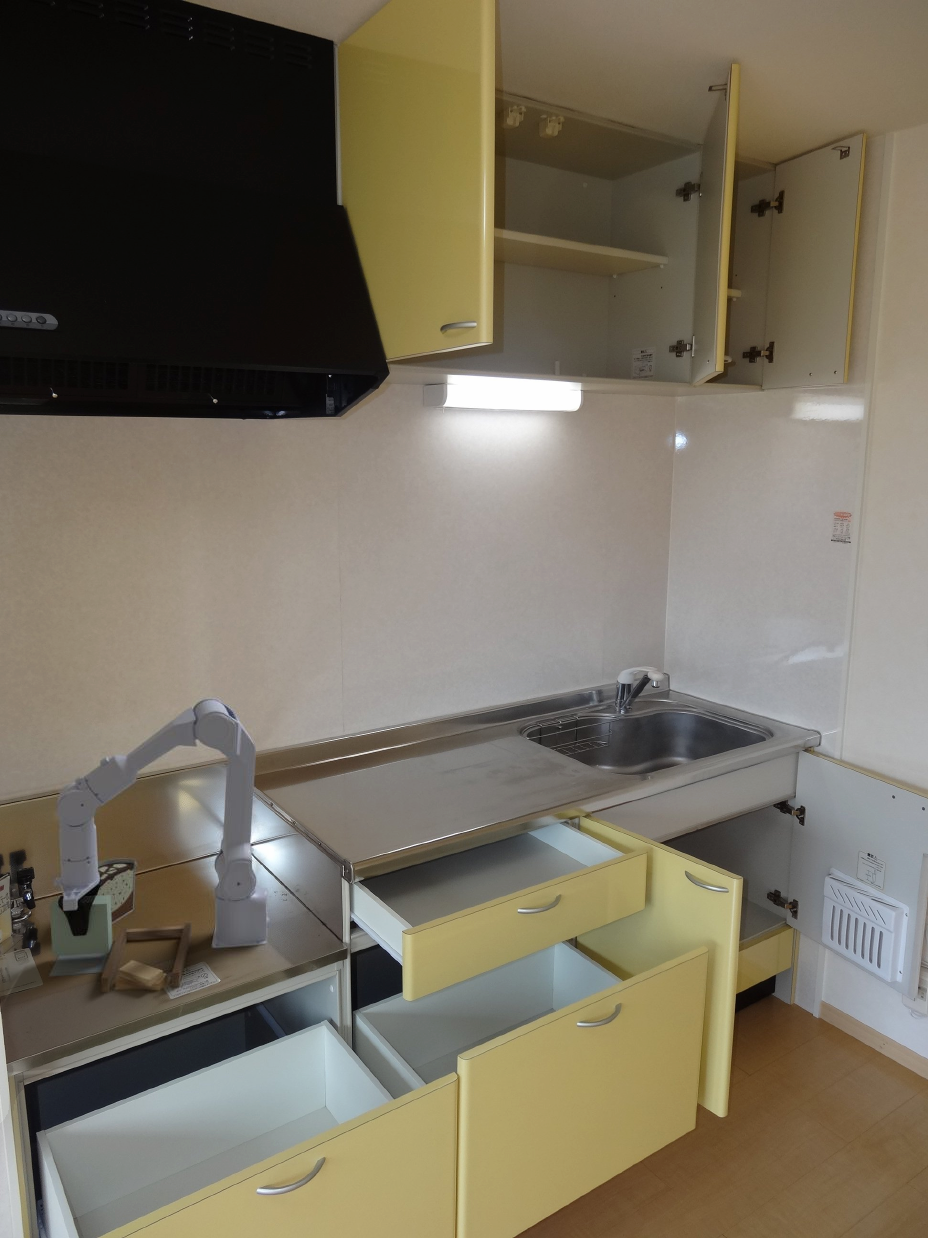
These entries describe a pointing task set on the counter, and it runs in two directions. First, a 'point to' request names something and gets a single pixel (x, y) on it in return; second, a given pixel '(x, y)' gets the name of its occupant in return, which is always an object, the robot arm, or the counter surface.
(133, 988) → the offcut bottom
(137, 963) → the offcut top
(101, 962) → the slate mat
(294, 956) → the counter surface
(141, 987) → the offcut middle
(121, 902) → the food container
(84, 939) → the sage panel
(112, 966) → the walnut rack
